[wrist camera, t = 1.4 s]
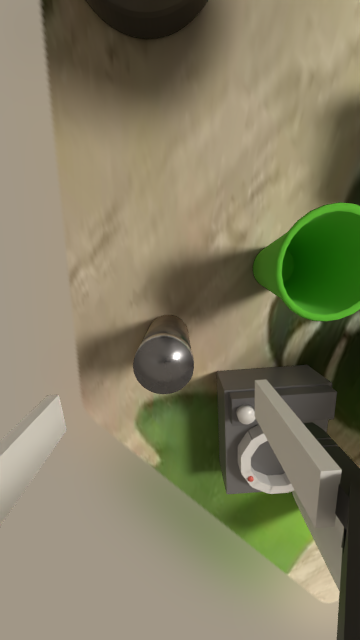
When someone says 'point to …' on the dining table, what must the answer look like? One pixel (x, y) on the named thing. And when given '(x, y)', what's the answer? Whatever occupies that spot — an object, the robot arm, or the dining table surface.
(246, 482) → the camera body
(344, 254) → the cup
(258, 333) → the dining table surface
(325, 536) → the mug
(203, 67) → the dining table surface
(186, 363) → the lens
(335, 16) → the dining table surface
